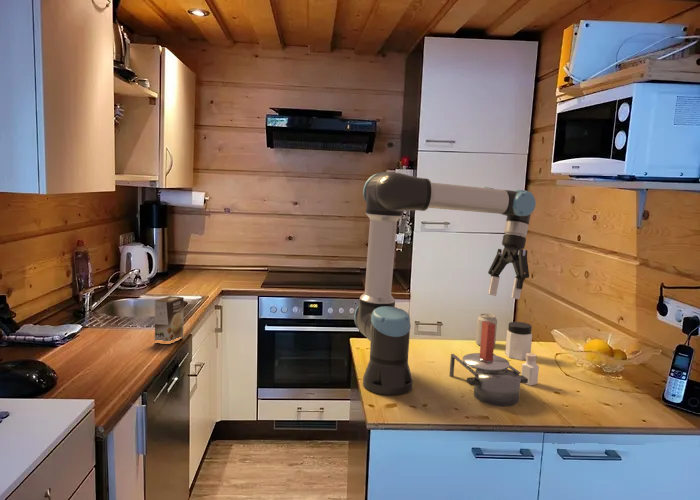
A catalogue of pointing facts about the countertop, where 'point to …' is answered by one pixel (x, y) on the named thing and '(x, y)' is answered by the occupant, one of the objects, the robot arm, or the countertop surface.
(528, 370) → the salt shaker
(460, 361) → the cooker
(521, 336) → the jar
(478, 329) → the can
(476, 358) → the lid
